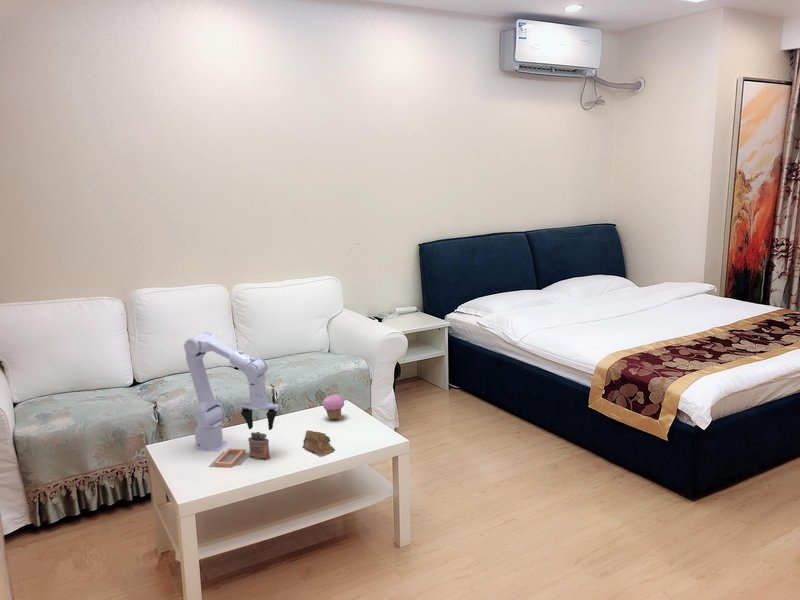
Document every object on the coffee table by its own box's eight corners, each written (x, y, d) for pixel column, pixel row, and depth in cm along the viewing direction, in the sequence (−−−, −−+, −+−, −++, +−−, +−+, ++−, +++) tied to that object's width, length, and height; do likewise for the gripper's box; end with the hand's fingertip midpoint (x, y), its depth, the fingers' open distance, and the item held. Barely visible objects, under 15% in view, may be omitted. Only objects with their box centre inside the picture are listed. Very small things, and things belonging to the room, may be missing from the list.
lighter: (247, 458, 222) (245, 433, 220) (253, 454, 225) (251, 429, 223) (266, 462, 219) (264, 436, 217) (272, 458, 222) (270, 432, 220)
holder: (208, 468, 216) (208, 462, 215) (223, 452, 227) (223, 447, 227) (237, 469, 214) (237, 464, 213) (251, 454, 225) (251, 449, 225)
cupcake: (345, 413, 261) (344, 391, 259) (344, 421, 252) (342, 399, 250) (324, 414, 261) (323, 392, 259) (322, 422, 252) (321, 399, 250)
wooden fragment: (337, 454, 222) (336, 452, 221) (307, 462, 219) (307, 459, 218) (324, 427, 246) (323, 425, 245) (297, 434, 243) (296, 431, 242)
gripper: (234, 396, 217) (237, 432, 220) (273, 397, 214) (275, 433, 217) (242, 389, 224) (245, 424, 226) (280, 390, 221) (282, 425, 224)
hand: (260, 428), depth 222 cm, fingers open, 7 cm apart
